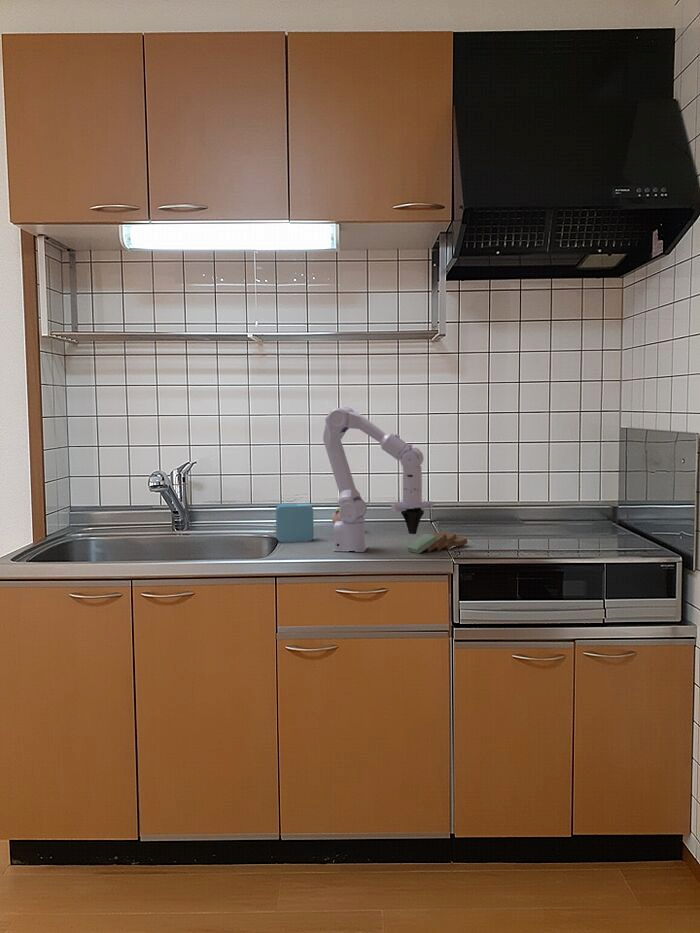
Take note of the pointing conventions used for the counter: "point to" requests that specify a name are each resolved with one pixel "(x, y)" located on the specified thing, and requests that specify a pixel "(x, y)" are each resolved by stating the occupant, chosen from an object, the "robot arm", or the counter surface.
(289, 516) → the blue square slab
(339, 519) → the decorative fruit
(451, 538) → the walnut domino
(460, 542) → the walnut domino
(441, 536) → the walnut domino
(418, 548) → the green domino
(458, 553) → the counter surface
